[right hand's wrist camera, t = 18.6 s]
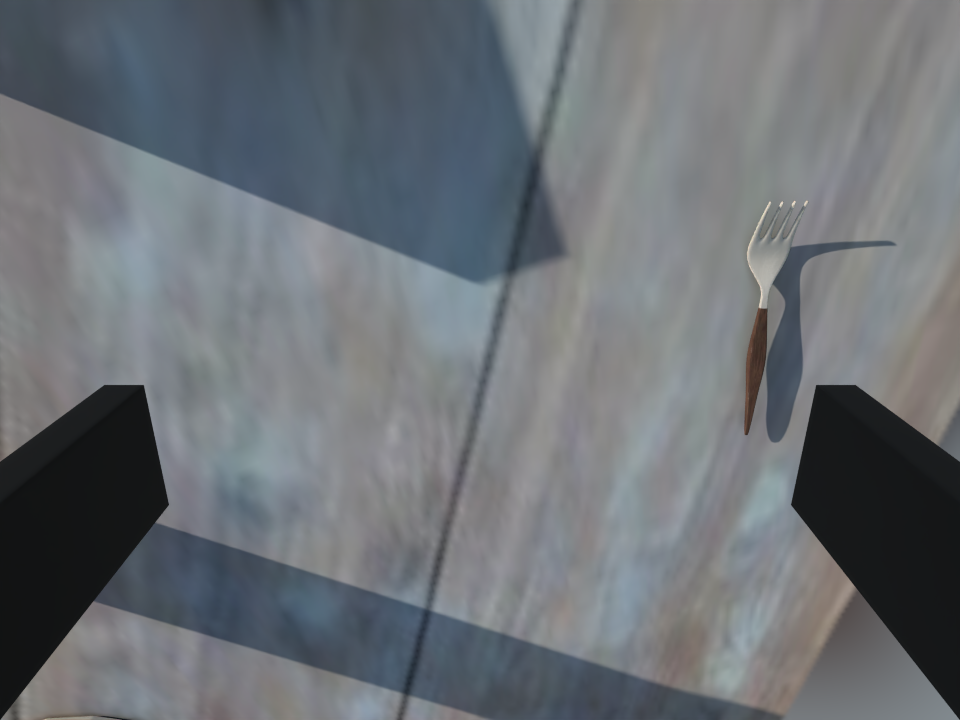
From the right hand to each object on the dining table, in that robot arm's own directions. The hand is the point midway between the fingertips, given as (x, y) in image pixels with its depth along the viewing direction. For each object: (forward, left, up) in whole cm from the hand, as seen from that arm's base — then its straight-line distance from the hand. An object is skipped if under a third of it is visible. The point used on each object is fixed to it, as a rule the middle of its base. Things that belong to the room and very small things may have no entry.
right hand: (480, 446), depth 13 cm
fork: (-16, +11, -28) cm, 34 cm away
